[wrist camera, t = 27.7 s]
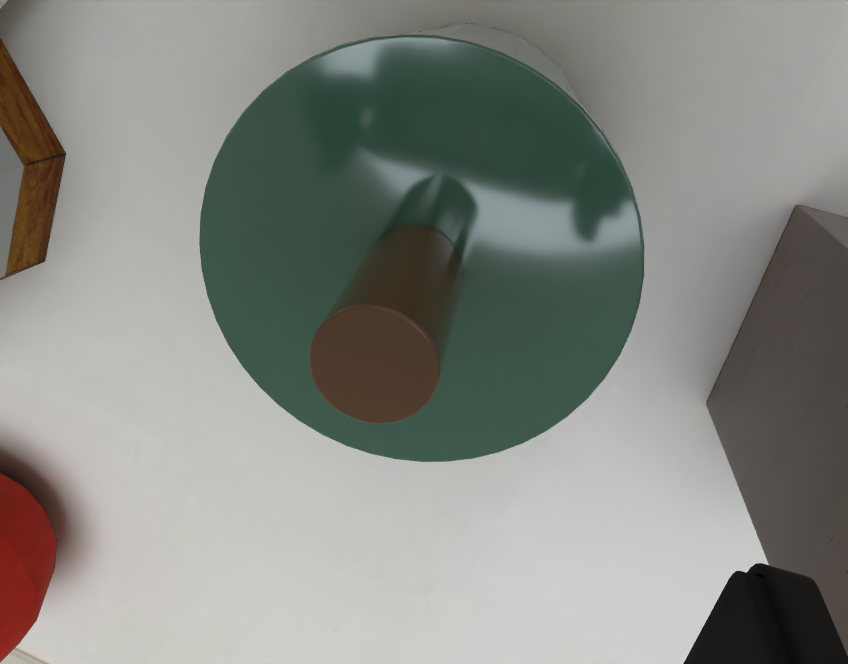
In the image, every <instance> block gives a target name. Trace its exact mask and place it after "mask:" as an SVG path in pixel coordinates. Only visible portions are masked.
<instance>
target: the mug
mask: <svg viewBox="0 0 848 664" xmlns="http://www.w3.org/2000/svg"><path fill="white" fill-rule="evenodd" d="M7 1H8V0H0V9H1V8H2V6H3V5H4V4H5V3H6V2H7ZM65 155H66V153H65V152H64V150H63V148H62V146H61V145H60V143H59V141H58V139H57V138H56V136H55V134H54V132H53V131H52V129H51V127H50V125H49V124H48V122H47V120H46V118H45V117H44V115H43V113H42V111H41V110H40V108H39V106H38V104H37V103H36V101H35V99H34V97H33V96H32V94H31V92H30V90H29V89H28V87H27V85H26V83H25V82H24V80H23V78H22V76H21V75H20V73H19V71H18V69H17V68H16V66H15V64H14V62H13V61H12V59H11V57H10V55H9V54H8V52H7V50H6V48H5V47H4V45H3V43H2V41H1V40H0V280H2V279H4V278H6V277H9V276H11V275H14V274H16V273H18V272H21V271H23V270H25V269H28V268H30V267H33V266H35V265H37V264H40V263H42V262H44V261H45V256H46V251H47V246H48V241H49V236H50V231H51V226H52V221H53V216H54V211H55V205H56V200H57V195H58V190H59V185H60V180H61V175H62V170H63V165H64V160H65Z"/></svg>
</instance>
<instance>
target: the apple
mask: <svg viewBox="0 0 848 664" xmlns="http://www.w3.org/2000/svg"><path fill="white" fill-rule="evenodd" d="M56 547H57V539H56V537H55V535H54V532H53V530H52V527H51V525H50V522H49V520H48V518H47V515H46V513H45V511H44V509H43V508H42V506H41V505H40V503H39V502H38V501H37V499H36V498H35V497H34V496H33V495H32V494H31V493H30V492H29V490H28V489H27V488H26V487H25V486H23V485H21V484H19V483H18V482H16V481H14V480H12V479H10V478H9V477H7V476H5V475H3V474H2V473H0V662H1V661H2V660H3V659H4V658H5V657H6V656H7V655H8V654H9V653H10V652H11V651H12V650H13V649H14V648H15V647H16V646H17V645H18V644H19V643H20V642H21V640H22V639H23V638H24V636H25V635H26V634H27V632H28V631H29V630H30V628H31V627H32V626H33V624H34V623H35V622H36V621H37V618H38V615H39V612H40V609H41V606H42V603H43V600H44V598H45V595H46V592H47V589H48V586H49V583H50V580H51V577H52V574H53V571H54V568H55V561H56Z"/></svg>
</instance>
